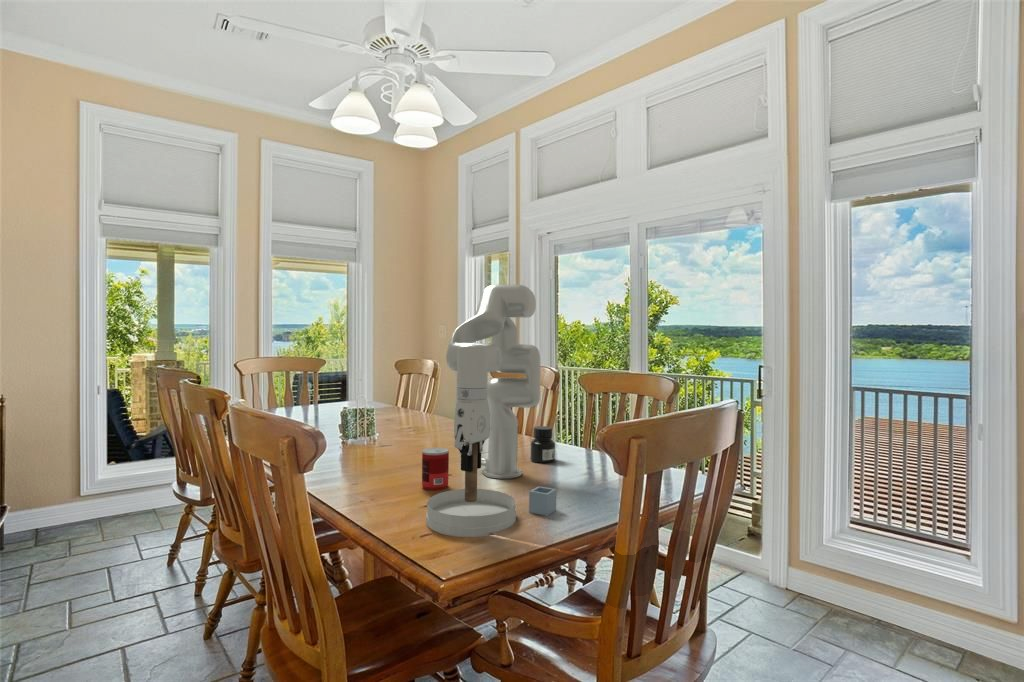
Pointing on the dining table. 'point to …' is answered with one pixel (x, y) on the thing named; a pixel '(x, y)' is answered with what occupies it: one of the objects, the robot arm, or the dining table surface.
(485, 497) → the dish
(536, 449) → the ink bottle
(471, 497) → the dowel
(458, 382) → the robot arm
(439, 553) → the dining table surface
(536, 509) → the cup
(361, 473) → the dining table surface
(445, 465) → the canned food
